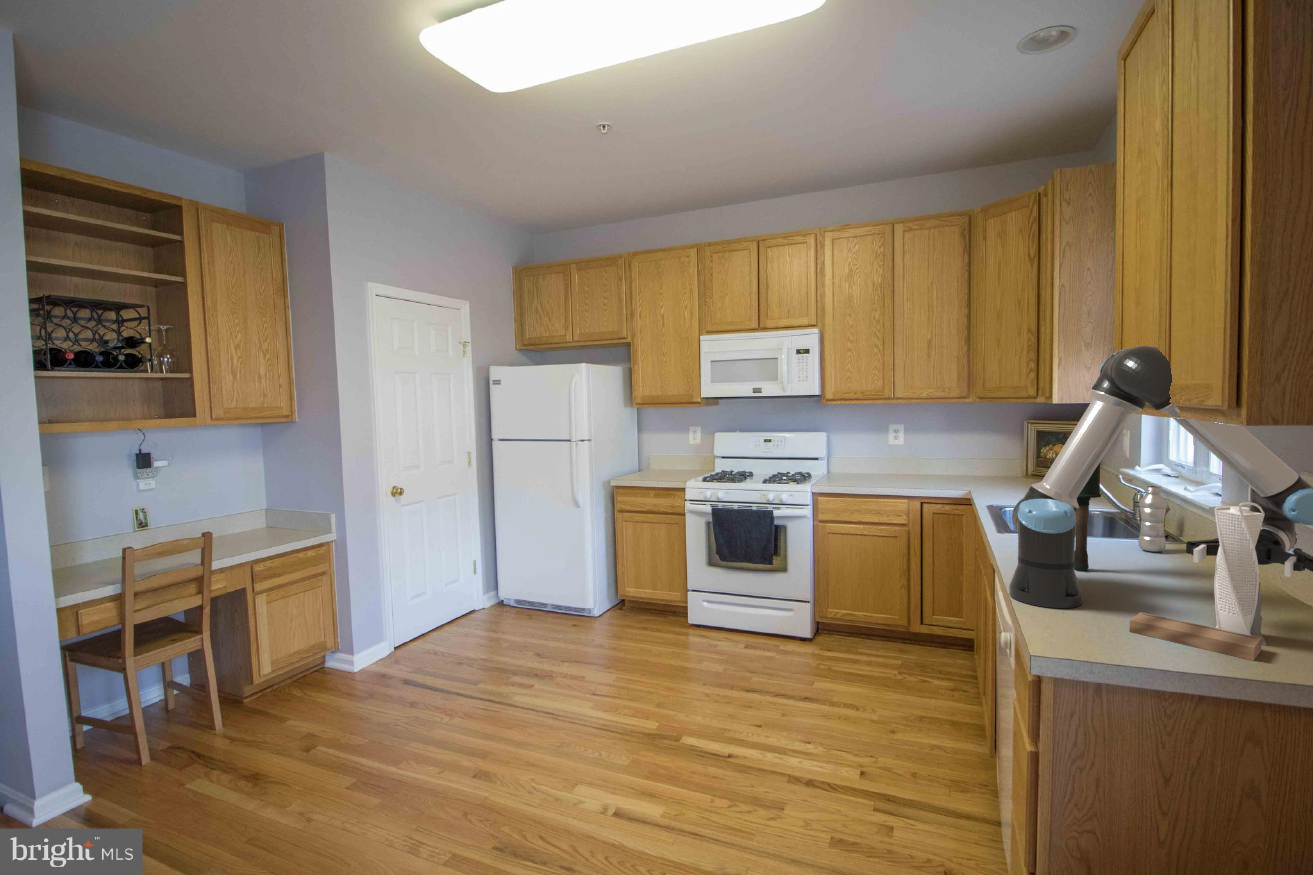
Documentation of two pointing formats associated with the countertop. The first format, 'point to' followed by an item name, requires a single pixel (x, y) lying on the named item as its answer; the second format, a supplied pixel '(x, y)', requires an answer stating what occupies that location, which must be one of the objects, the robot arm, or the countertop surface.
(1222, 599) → the skyscraper
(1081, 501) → the stick grenade
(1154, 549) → the ribbed metallic bottle
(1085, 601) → the countertop surface
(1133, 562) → the countertop surface
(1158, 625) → the board
